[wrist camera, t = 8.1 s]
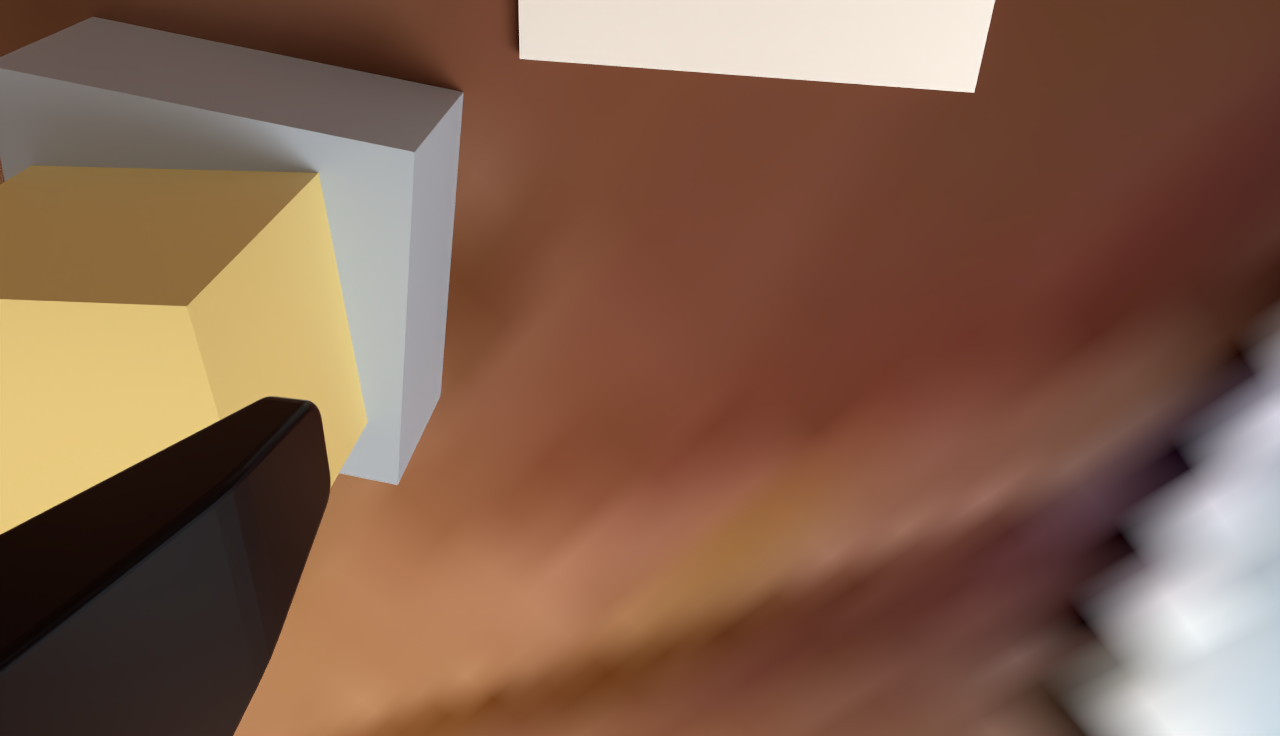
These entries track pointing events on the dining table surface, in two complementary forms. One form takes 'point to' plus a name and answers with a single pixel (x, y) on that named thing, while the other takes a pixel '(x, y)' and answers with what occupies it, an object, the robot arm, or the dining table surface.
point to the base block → (278, 142)
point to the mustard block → (159, 318)
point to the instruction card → (769, 38)
